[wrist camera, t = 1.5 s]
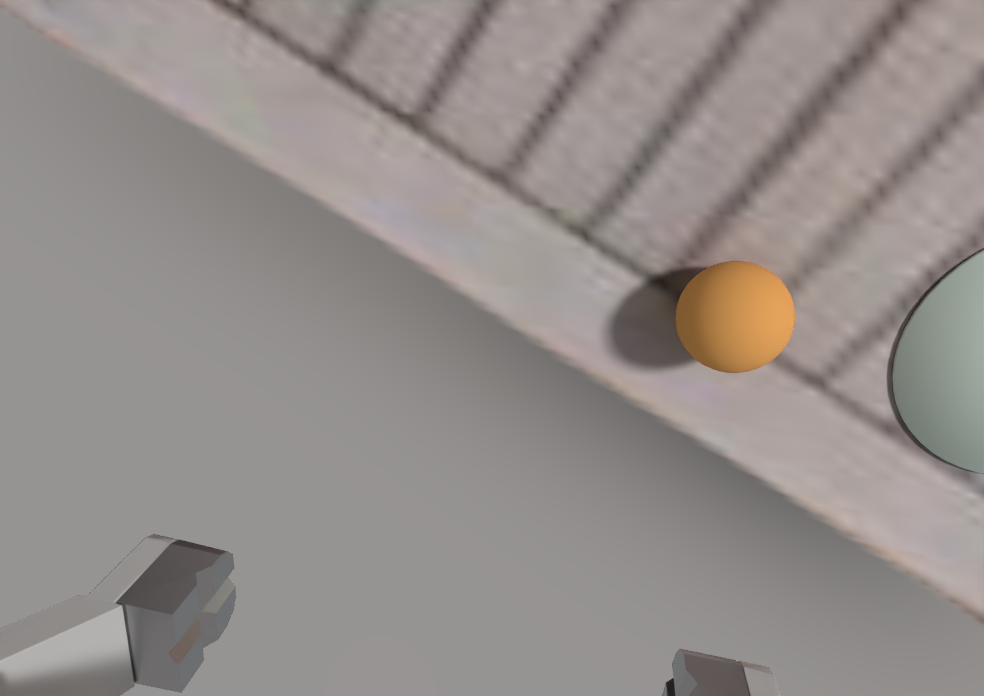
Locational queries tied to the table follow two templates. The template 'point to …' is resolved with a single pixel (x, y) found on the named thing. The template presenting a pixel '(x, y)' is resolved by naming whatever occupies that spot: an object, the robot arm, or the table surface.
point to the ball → (735, 317)
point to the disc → (946, 368)
